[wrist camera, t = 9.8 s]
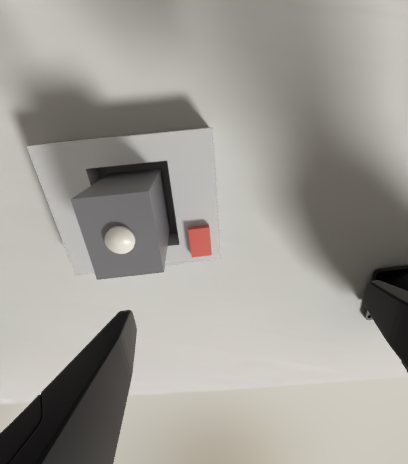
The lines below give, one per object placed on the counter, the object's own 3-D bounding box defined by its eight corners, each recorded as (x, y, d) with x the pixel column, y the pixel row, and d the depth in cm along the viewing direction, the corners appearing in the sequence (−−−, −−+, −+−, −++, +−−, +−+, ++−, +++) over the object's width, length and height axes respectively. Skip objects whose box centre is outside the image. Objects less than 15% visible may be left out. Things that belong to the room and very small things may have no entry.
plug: (161, 168, 19) (148, 192, 12) (170, 226, 21) (163, 274, 14) (109, 173, 19) (67, 200, 12) (124, 231, 21) (95, 282, 14)
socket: (208, 127, 18) (213, 128, 15) (217, 244, 22) (222, 262, 19) (46, 143, 18) (20, 147, 15) (86, 259, 22) (72, 280, 19)
